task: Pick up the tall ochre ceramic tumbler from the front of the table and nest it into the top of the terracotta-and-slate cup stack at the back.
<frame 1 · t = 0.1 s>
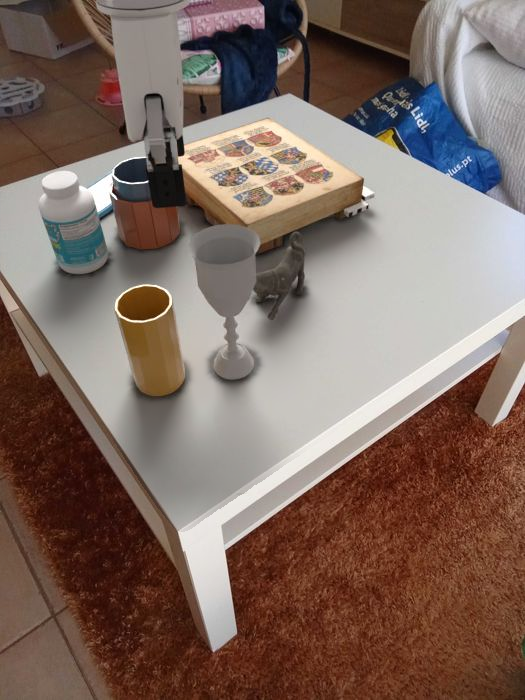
hand: (170, 179, 57), 22 cm above the table, tool pointing down, fingers open, 9 cm apart
cup stack: (150, 231, 89), on the table
smartphone: (105, 199, 97), on the table
pill bottle: (84, 262, 85), on the table
book: (270, 199, 96), on the table
dog figurine: (277, 296, 78), on the table
ochre cup: (160, 377, 68), on the table
chalice: (233, 365, 70), on the table
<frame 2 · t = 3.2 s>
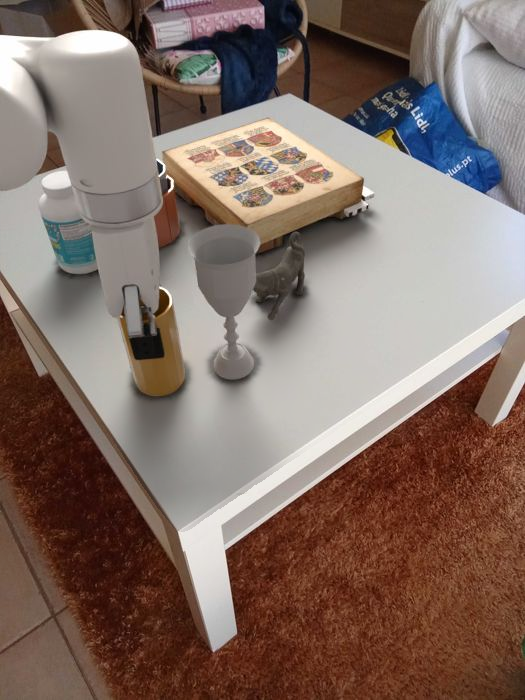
hand: (150, 333, 63), 7 cm above the table, tool pointing down, fingers closed on ochre cup, 6 cm apart
ochre cup: (160, 377, 68), on the table, touching gripper
everything else where it was.
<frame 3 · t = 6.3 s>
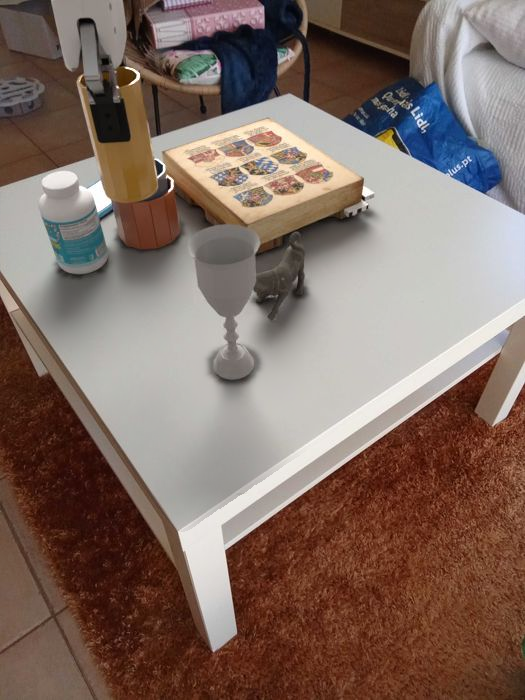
hand: (117, 123, 58), 26 cm above the table, tool pointing down, fingers closed on ochre cup, 6 cm apart
ochre cup: (131, 188, 63), point 18 cm above the table, touching gripper
everything else where it was.
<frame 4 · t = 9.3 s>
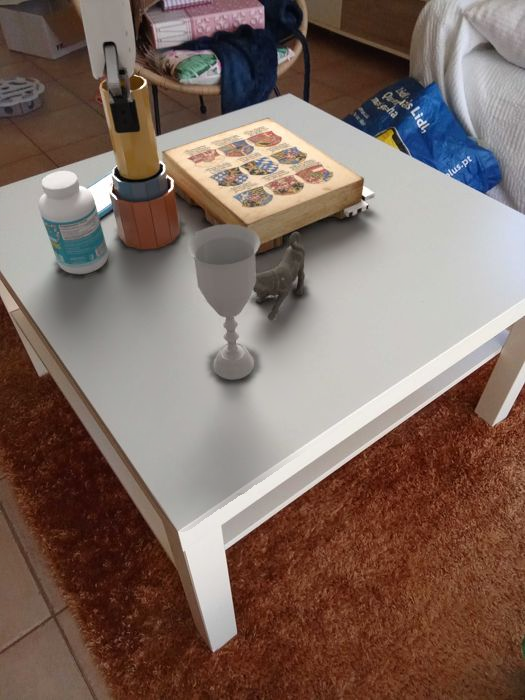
hand: (129, 118, 76), 18 cm above the table, tool pointing down, fingers closed on ochre cup, 6 cm apart
ochre cup: (139, 168, 82), point 11 cm above the table, touching gripper
everything else where it was.
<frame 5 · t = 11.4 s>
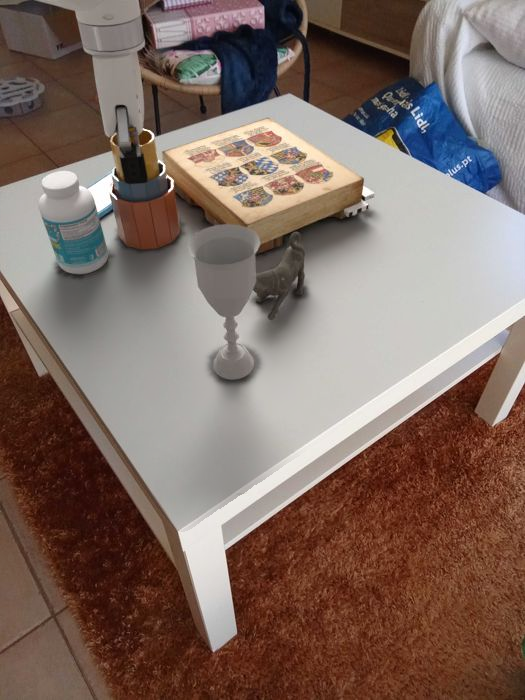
hand: (137, 168, 81), 11 cm above the table, tool pointing down, fingers closed on ochre cup, 6 cm apart
ochre cup: (146, 213, 87), point 3 cm above the table, touching gripper
everything else where it was.
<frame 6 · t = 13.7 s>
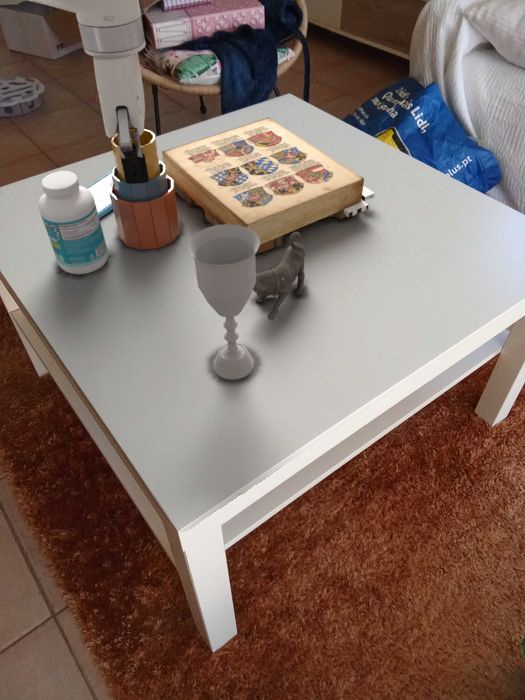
hand: (138, 168, 82), 11 cm above the table, tool pointing down, fingers closed on ochre cup, 6 cm apart
ochre cup: (147, 213, 87), point 3 cm above the table, touching gripper
everything else where it was.
when the fingers open (11 cm above the table, at t = 15.9 s): ochre cup drops 3 cm, resting on cup stack.
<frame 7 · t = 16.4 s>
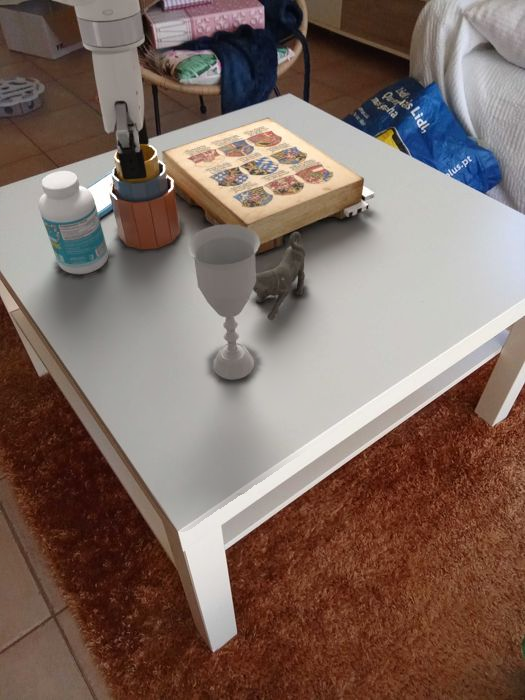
hand: (136, 160, 81), 12 cm above the table, tool pointing down, fingers open, 9 cm apart
ochre cup: (149, 225, 89), point 1 cm above the table, touching cup stack
everything else where it was.
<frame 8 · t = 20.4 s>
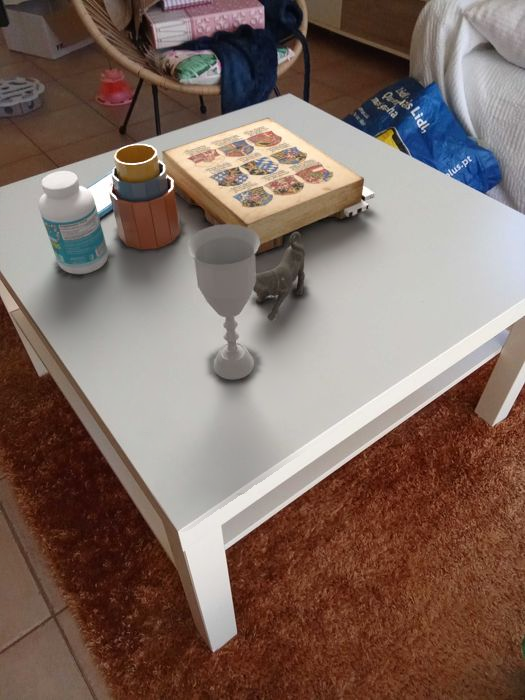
nothing on the table moved.
at the end: ochre cup 0.1 cm off-centre on the cup stack, point 1.1 cm above the cup stack's base; ochre cup tilted 0° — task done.
